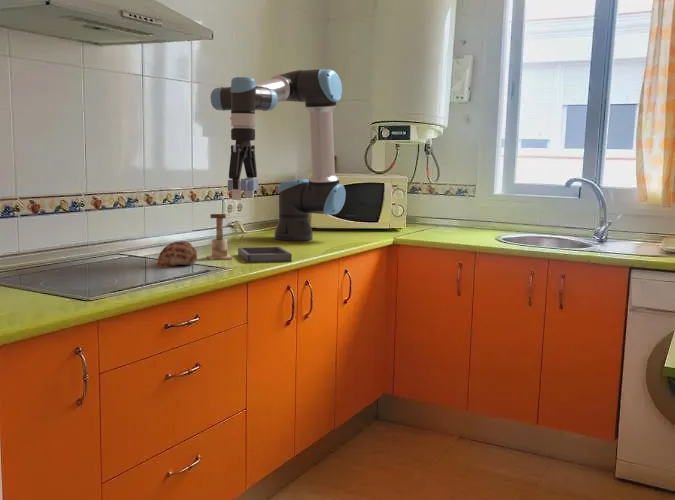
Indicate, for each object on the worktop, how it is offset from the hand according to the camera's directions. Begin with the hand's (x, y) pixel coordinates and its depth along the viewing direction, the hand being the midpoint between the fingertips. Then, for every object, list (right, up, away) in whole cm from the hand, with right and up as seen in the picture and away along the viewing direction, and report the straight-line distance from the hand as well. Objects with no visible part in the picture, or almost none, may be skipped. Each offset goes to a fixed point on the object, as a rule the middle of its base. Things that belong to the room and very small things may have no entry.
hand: (243, 198), depth 231 cm
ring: (0, +3, 0) cm, 3 cm away
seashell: (-18, -21, -13) cm, 31 cm away
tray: (+6, -19, +3) cm, 20 cm away
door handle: (-8, -19, +1) cm, 21 cm away
